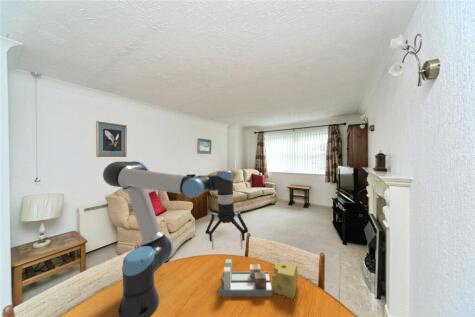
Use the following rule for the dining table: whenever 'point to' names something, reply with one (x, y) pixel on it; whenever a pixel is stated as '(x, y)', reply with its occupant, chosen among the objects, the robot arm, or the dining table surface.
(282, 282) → the cheese
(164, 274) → the dining table surface
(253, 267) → the maple block
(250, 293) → the lane board
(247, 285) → the strip front
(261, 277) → the walnut block
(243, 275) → the strip rear
